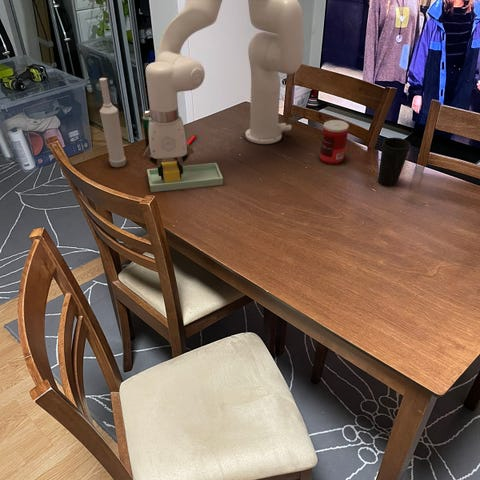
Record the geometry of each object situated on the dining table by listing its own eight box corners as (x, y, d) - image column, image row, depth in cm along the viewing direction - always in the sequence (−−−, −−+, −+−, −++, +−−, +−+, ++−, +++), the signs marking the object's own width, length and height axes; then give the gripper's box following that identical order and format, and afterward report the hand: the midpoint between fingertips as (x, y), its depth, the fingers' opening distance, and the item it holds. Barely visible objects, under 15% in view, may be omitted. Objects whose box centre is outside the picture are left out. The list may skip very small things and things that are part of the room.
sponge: (177, 173, 144) (176, 161, 142) (180, 184, 139) (179, 171, 137) (162, 175, 144) (161, 162, 141) (165, 185, 139) (163, 172, 136)
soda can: (153, 155, 155) (148, 118, 146) (143, 150, 157) (138, 113, 149) (165, 150, 157) (161, 113, 149) (155, 146, 160) (150, 109, 151)
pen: (173, 159, 152) (173, 156, 152) (194, 135, 165) (194, 132, 165) (176, 160, 152) (176, 156, 151) (197, 136, 165) (196, 133, 165)
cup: (381, 173, 147) (390, 135, 138) (404, 181, 143) (415, 142, 135) (369, 182, 143) (378, 143, 134) (393, 191, 139) (403, 151, 131)
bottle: (117, 169, 148) (102, 83, 130) (106, 164, 150) (89, 79, 133) (130, 163, 151) (116, 78, 133) (118, 158, 153) (103, 74, 136)
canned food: (344, 155, 156) (350, 121, 148) (341, 166, 150) (347, 131, 143) (321, 152, 157) (325, 118, 150) (317, 162, 152) (321, 128, 144)
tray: (216, 168, 148) (216, 162, 147) (223, 184, 141) (222, 178, 140) (147, 175, 145) (147, 169, 143) (151, 192, 138) (150, 185, 136)
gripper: (133, 122, 125) (143, 186, 137) (197, 116, 127) (201, 180, 140) (132, 111, 130) (141, 174, 142) (193, 106, 133) (197, 168, 145)
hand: (170, 176), depth 141 cm, fingers closed on sponge, 4 cm apart
